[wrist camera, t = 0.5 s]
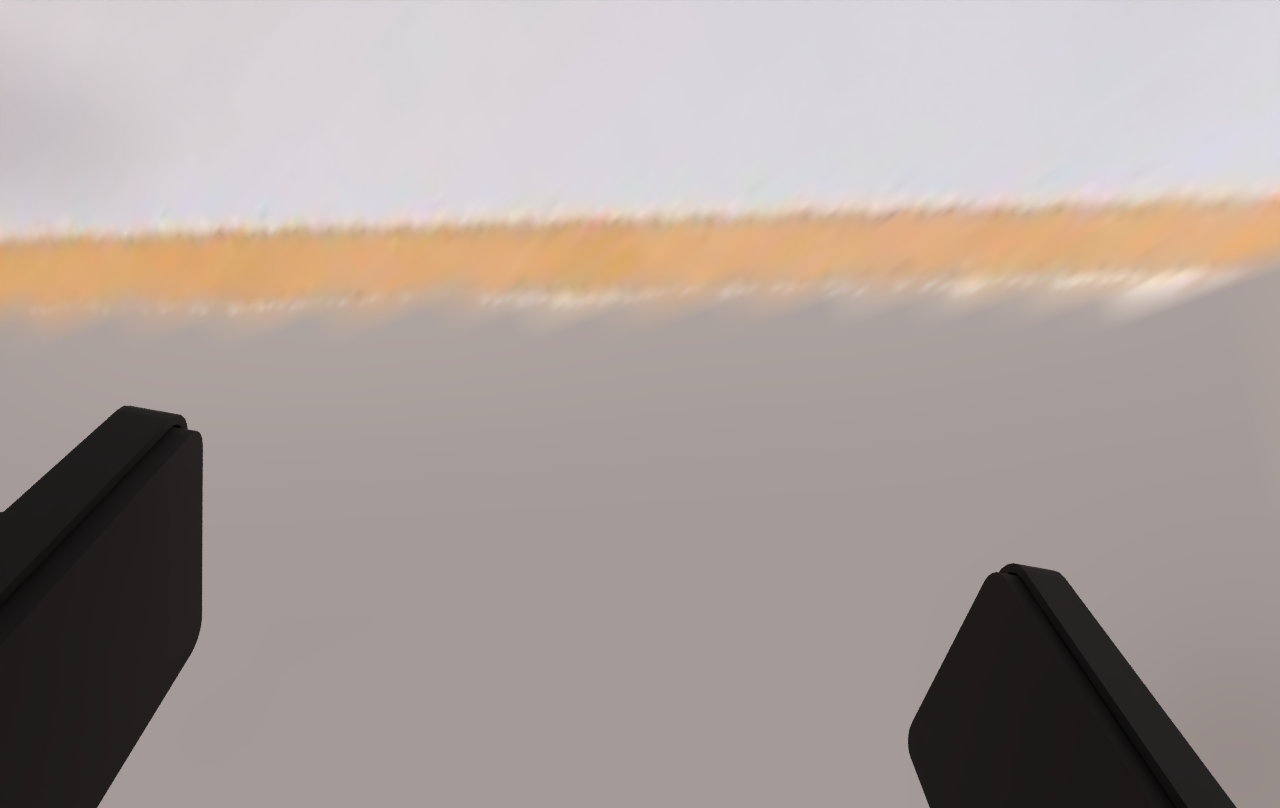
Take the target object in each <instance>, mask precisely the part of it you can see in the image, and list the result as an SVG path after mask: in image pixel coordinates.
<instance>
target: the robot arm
mask: <svg viewBox="0 0 1280 808" xmlns="http://www.w3.org/2000/svg"><path fill="white" fill-rule="evenodd" d="M202 468H203V443H202V437H201V434H200V433H199V432H198V431H193V430H188V429H187V423H186V420H185V418H184V417H183V416H181V415H178V414H173V413H167V412H162V411H156V410H150V409H145V408H139V407H134V406H123V407H121V408H120V409H118V410H117V411H116V412H115V413H113V414H112V415H111V416H110V417H109V418H108V419H107V420H106V421H105V422H103V423H102V424H101V425H100V426H99V427H98V428H97V429H96V430H94V431H93V432H92V433H91V434H90V435H89V436H88V437H87V438H86V439H84V440H83V441H82V442H81V443H80V444H79V445H78V446H77V447H75V448H74V449H73V450H72V451H71V452H70V453H69V454H68V455H67V456H65V457H64V458H63V459H62V460H61V461H60V462H59V463H58V464H57V465H55V466H54V467H53V468H52V469H51V470H50V471H49V472H48V473H47V474H45V475H44V476H43V477H42V478H41V479H40V480H39V481H38V482H36V483H35V484H34V485H33V486H32V487H31V488H30V489H29V490H28V491H26V492H25V493H24V494H23V495H22V496H21V497H20V498H19V499H17V500H16V501H15V502H14V503H13V504H12V505H11V506H10V507H9V508H7V509H6V510H5V511H4V512H0V808H97V807H98V805H99V803H100V802H101V800H102V798H103V797H104V795H105V793H106V792H107V790H108V789H109V787H110V785H111V784H112V782H113V781H114V779H115V777H116V776H117V774H118V772H119V771H120V769H121V767H122V766H123V764H124V762H125V761H126V759H127V758H128V756H129V754H130V753H131V751H132V749H133V747H134V746H135V745H136V743H137V741H138V740H139V738H140V736H141V735H142V733H143V731H144V730H145V728H146V726H147V725H148V723H149V721H150V720H151V718H152V717H153V715H154V713H155V712H156V710H157V708H158V707H159V705H160V704H161V702H162V700H163V699H164V697H165V695H166V694H167V692H168V691H169V689H170V687H171V686H172V684H173V682H174V681H175V679H176V677H177V676H178V674H179V673H180V671H181V669H182V668H183V666H184V664H185V663H186V661H187V659H188V658H189V656H190V655H191V653H192V651H193V649H194V647H195V644H196V642H197V639H198V636H199V632H200V628H201V621H202V484H203V483H202V481H203V479H202V478H203V474H202V473H203V469H202ZM908 736H909V737H908V747H909V753H910V757H911V759H912V762H913V765H914V767H915V770H916V773H917V775H918V778H919V780H920V783H921V786H922V788H923V791H924V794H925V796H926V799H927V801H928V804H929V807H930V808H1236V806H1235V805H1234V804H1233V802H1232V801H1231V800H1230V798H1229V797H1228V796H1227V794H1226V793H1225V792H1224V790H1223V789H1222V788H1221V786H1220V785H1219V784H1218V782H1217V781H1216V780H1215V778H1214V777H1213V776H1212V775H1211V773H1210V772H1209V770H1208V769H1207V768H1206V766H1205V765H1204V764H1203V762H1202V761H1201V760H1200V758H1199V757H1198V756H1197V754H1196V753H1195V752H1194V750H1193V749H1192V748H1191V746H1190V745H1189V744H1188V742H1187V741H1186V739H1185V738H1184V737H1183V735H1182V734H1181V733H1180V731H1179V730H1178V729H1177V727H1176V726H1175V725H1174V724H1173V722H1172V721H1171V719H1170V718H1169V717H1168V716H1167V714H1166V713H1165V711H1164V710H1163V709H1162V707H1161V706H1160V705H1159V703H1158V702H1157V701H1156V700H1155V698H1154V697H1153V695H1152V694H1151V693H1150V691H1149V690H1148V689H1147V687H1146V686H1145V685H1144V684H1143V682H1142V681H1141V679H1140V678H1139V677H1138V675H1137V674H1136V673H1135V671H1134V670H1133V669H1132V667H1131V666H1130V665H1129V663H1128V662H1127V660H1126V659H1125V658H1124V656H1123V655H1122V654H1121V653H1120V651H1119V650H1118V649H1117V647H1116V646H1115V645H1114V643H1113V642H1112V641H1111V639H1110V638H1109V636H1108V635H1107V634H1106V632H1105V631H1104V630H1103V628H1102V627H1101V626H1100V624H1099V623H1098V622H1097V620H1096V619H1095V618H1094V616H1093V615H1092V614H1091V612H1090V611H1089V610H1088V608H1087V607H1086V606H1085V604H1084V603H1083V602H1082V600H1081V599H1080V598H1079V596H1078V595H1077V594H1076V593H1075V591H1074V590H1073V588H1072V587H1071V586H1070V584H1069V583H1068V581H1067V580H1066V579H1065V578H1064V577H1063V576H1062V575H1061V574H1060V573H1059V572H1056V571H1053V570H1047V569H1042V568H1037V567H1031V566H1025V565H1020V564H1014V563H1013V564H1008V565H1006V566H1005V567H1003V568H1002V569H1001V570H1000V572H999V573H998V572H995V573H992V574H991V575H989V576H988V577H987V578H986V580H985V581H984V583H983V585H982V587H981V589H980V591H979V593H978V595H977V597H976V599H975V601H974V603H973V605H972V607H971V609H970V610H969V613H968V614H967V616H966V618H965V620H964V622H963V624H962V626H961V628H960V630H959V632H958V634H957V636H956V638H955V640H954V642H953V644H952V646H951V647H950V649H949V652H948V653H947V655H946V658H945V659H944V661H943V663H942V665H941V667H940V669H939V671H938V673H937V675H936V677H935V679H934V681H933V683H932V685H931V687H930V689H929V690H928V692H927V694H926V696H925V698H924V700H923V702H922V704H921V706H920V708H919V710H918V712H917V714H916V716H915V718H914V720H913V722H912V724H911V727H910V730H909V735H908Z"/></svg>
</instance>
